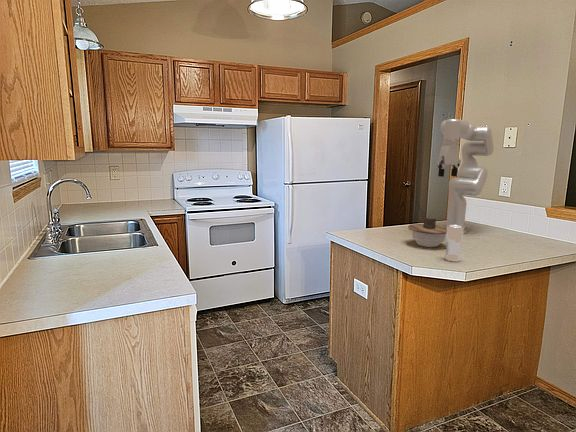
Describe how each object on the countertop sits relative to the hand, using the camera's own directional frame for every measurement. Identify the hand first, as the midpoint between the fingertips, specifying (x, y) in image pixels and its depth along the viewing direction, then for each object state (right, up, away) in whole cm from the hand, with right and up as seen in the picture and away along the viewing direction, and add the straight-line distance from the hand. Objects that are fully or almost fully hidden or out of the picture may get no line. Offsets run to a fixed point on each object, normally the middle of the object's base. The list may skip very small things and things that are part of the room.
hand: (447, 176), depth 204 cm
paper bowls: (-15, -36, -11) cm, 40 cm away
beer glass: (-13, -40, -36) cm, 55 cm away
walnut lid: (-14, -28, -12) cm, 34 cm away
